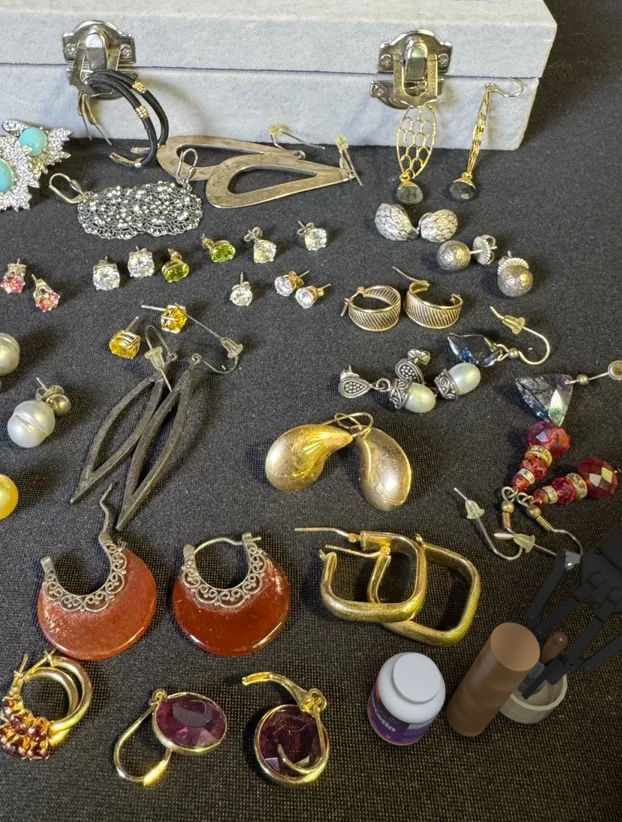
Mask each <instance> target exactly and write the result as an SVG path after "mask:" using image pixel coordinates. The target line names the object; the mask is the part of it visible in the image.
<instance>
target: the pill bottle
mask: <svg viewBox="0 0 622 822" xmlns="http://www.w3.org/2000/svg"><path fill="white" fill-rule="evenodd" d="M445 699H446V685H445V680H444V678H443V675H442V673H441V671H440V669H439V668H438V666H437V665H436V664H435V662H434V661H433V660H432V659H431V658H430V657H428V656H427V655H424V654H423V653H420V652H409V651H406V652H405V651H404V652H400V653H396V654H394V655H393V656H391V657H389V658H388V659H387V660H386V661H385V662H384V663H383V665H382V666H381V668H380V670H379V673H378V675H377V677H376V679H375V682H374V684H373V687H372V689H371V692H370V694H369V697H368V700H367V708H366V709H367V716H368V717H367V718H368V720H369V723H370V725H371V727H372V728H373V730H374V731H375V733H376V734H377V735H378V736H379V738H381V739H383V740H384V741H385V742H387V743H390V744H393V745H396V746H409V745H412V744H414V743H416V742H418V741H420V740H421V739H422V738H423V737H424V736H425V734H426V733H427V731H428V730H429V728H430V727H431V725H432V723H433V722H434V720H435V719H436V717H437V716H438V715H439V712H440V711H441V709H442V707H443V705H444V703H445Z"/></svg>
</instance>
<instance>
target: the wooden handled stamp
mask: <svg viewBox="0 0 622 822" xmlns="http://www.w3.org/2000/svg"><path fill="white" fill-rule="evenodd" d="M546 640H547V642H546V643H545V644H544V646H543V647H542V648H541V650H540V656H539V659H538V662H537V663H536V665H535V666H534V667H533V668H532V670H531V671H530V672H529V673H528V675H527V676H526V677H525V679H524V680H523V681H522V682H521V684H520V685H519V686H518V687H517V690H518V691H519V692H521V693H524V692H525V691H526V689H527V688H528V687H529V686H530V685H531V684H532V683H533V682H534V680H535V679H536V678H537V677H538V676H539V675H540V674H541V673H542V672H543V670H544V669H545V668H546V667H547V666H548V665H549V664H550V663H551V662H552V660H553V659H554V658H555V657H557V655H558V654H559V653H560V652H561V653H562V651H563V650H564V648H565V647H566V646H567V645H568V642H569V638H568V636H567V635H566V633H565V632H563V631H561V630H557V631H554V632H553V633H552V634H551V636H549V638H548V639H546ZM546 683H547V680H546V679H545V680H544V682H543V683H542V684H541V685H540V686H539V687H538V688H537V689H536V690H535V692H534V693H533V694H532V695H535V694H537V693H539V692H540V691H541V689H542V688H543V687H544V686H545V685H546Z"/></svg>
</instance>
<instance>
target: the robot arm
mask: <svg viewBox="0 0 622 822" xmlns="http://www.w3.org/2000/svg"><path fill="white" fill-rule="evenodd" d="M620 521H621V522H622V516H621V517H620ZM577 564H579V567H578V588H577V589H576V590H575V591H574V592H573V593H572V594H571V595H570V596H568V598H566V599H565V600H564V601H563V602H562V603H561V604H560V605H559V606H558V607H557V608H555V610H553V611H552V612H551V613H550V614H549V615H548V616H547V617H546V618H544V620H542V618H541V615H542V614H543V612H544V610H545V608H546V606H548V603H549V602H550V600H551V598H552V596H553V595H554V594H555V592H556V590H557V588H558V587H559V585H560V584H561V582H562V580H563V579H564V577H565V575H566V574H567V572H568V571H569V570H573V569H574V568H575V566H576V565H577ZM586 599H587V600H589V601H590V602H593V603H594V605H595V606H596V607H597V608H598V610H597V611H596V613H595V614H594V616H593V617H592V619H590V622H589V623H588V624H587V625H586V627H585V628H584V629H583V631H582V633H581V634H580V635H579V636H578V637H577V639H576V641H575V642H574V644H573V645H572V646H571V648H570V649H569V650H568V652H567V653H566V654H565V655H564V654H563V653H562V651H561V652H560V653H559V654H558V655H557V657H555V658H554V659H553V660H552V662H551V663H550V664H549V665H548V666H547V667H546V668H545V669H544V670H543V672H542V673H541V674H540V675H539V676H538V677H537V678H536V679H535V680H534V682H533V683H532V684H531V685H530V686H529V687H528V688H527V689H526V691H525V692H524V693H523V694H522V695H521V696H522V697H523V698H524V699H525V700H527V699H528V698H529V697H530V696H531V695H532V694H533V693H534V692H535V690H536V689H537V688H538V687H539V686H540V685H541V684H542V683H543V682H544V680H545V679H546V680H547V681H548V682H549V683H550V684H551V685H555V684H557V682H558V681H559V680H560V679H561V678H562V677H563V676H564V675H565V674H566V675H567V673H568V671H569V670H572V669H575V670H576V671H577V670H578V671H580V672H581V674H582V675H586V676H587V675H590V674H591V673H593V672H594V671H595V670H596V669H598V668H599V667H600V666H602V665H604V663H606V662H607V661H608V660H610V659H611V658H612V657H614V656H615V655H617V654H618V653H619V652H620V651H621V650H622V632H620V633H619V634H618V635H616V636H615V637H613V639H611V640H610V641H608V643H606V644H605V645H603V646H602V647H601V648H599V649H598V650H597V651H595V652H594V653H592V654H591V655H590V656H589V657H587V658H585V657H583V656H582V655H583V654H584V652H585V651H586V649H588V646H590V644H591V643H592V641H593V640H594V639H595V637H596V636H597V634H598V633H599V632H600V631H601V629H602V628H603V626H604V625H605V623H606V622H607V621H608V619H609V618H610V617H611V615H613V616H614V615H620V614H622V524H620V523H617V524H614V525H613V526H612V527H611V528H610V529H609V531H607V533H606V534H605V535H604V536H603V537H602V538H601V540H600V541H598V543H597V544H596V546H594V547H593V548H592V549H590V550H587V551H585V552H583V553H582V554H581V553H578V552H574V551H570V549H568V548H566V547H563V548H560V549H558V550H557V551H556V553H555V557H554V563H553V568H552V570H551V571H550V573H549V574H548V576H547V578H546V579H545V581H544V583H543V585H542V586H541V588H540V589H539V591H538V593H537V595H536V596H535V598H534V599H533V601H532V603H531V604H530V606H529V608H528V609H527V611H526V612H525V614H524V621H525V622H526V623H528V625H529V627H530V629H531V630H530V631H531V632H532V634H533V635H534V636H535V638H536V639H537V641H538V644H539V648H540V650H541V648H542V647H543V646H544V644H545V643H546V642H547V640H548V639H547V638H546V637H545V636H546V635H547V634H548V633H549V632H551V630H553V628H554V627H556V626H557V625H558V624H559V623H560V622H562V620H563V619H564V618H566V617H567V616H568V615H570V613H571V612H572V611H573V610H574V609H576V608H577V607H578V606H579V605H580V604H581V603H582V602H584V600H586Z"/></svg>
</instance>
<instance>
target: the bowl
mask: <svg viewBox="0 0 622 822" xmlns="http://www.w3.org/2000/svg"><path fill="white" fill-rule="evenodd" d="M567 690H568V677H567V673H566V674H565V675H564V676H563V677H562V678H561V679H560V680H559V681H558V682H557V684H555V685H551V684H550V683H549V682H548V681H547V683H546V685H545V686H544V687H543V688H542V689H541V691H540V692H539V693H537V694H535V695H531V696H530V697H529V698H528V699H527V700H525V699H524V698H523V697H522V696H521V695H522V694H523V693H521V692H519V691H518V690H517V689H516V690H515V691H514V692H513V694H512V695H511V696H510V698H509V699H508V700H507V701H506V703H505V704H504V705H503V706H502V708H501V709H500V710H499V711H498V712H500V714H503V716H505V717H507V718H508V719H510V720H512V721H514V722H516V723H520V724H527V725H528V724H536V723H539V722H541V721H543V720H544V719H546V718H547V717H548V716H550V714H551V713H552V712H553V711H554V710H555V709H556V708H557V707H558V706H559V704H560V703H561V702H562V701H563V700H564V698H565V696H566V694H567Z"/></svg>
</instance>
